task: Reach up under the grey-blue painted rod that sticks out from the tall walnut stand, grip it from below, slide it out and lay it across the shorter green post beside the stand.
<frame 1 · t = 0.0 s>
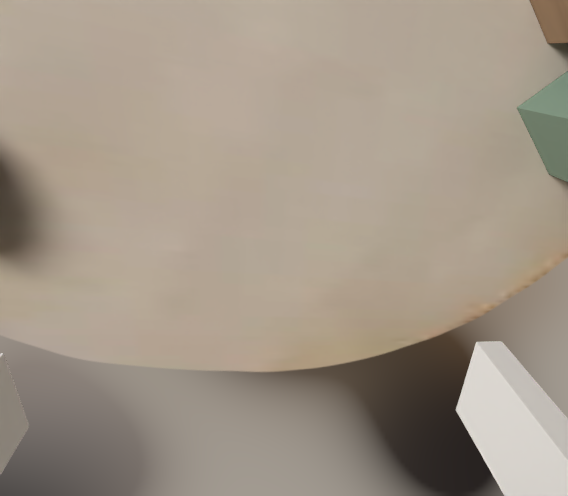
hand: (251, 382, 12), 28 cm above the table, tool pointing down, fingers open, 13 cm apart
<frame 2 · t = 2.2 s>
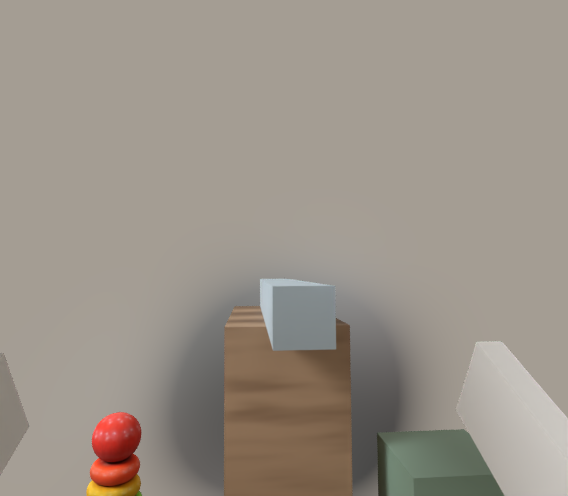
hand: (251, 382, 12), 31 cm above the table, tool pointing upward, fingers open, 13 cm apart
rod: (283, 319, 37), point 30 cm above the table, touching stand
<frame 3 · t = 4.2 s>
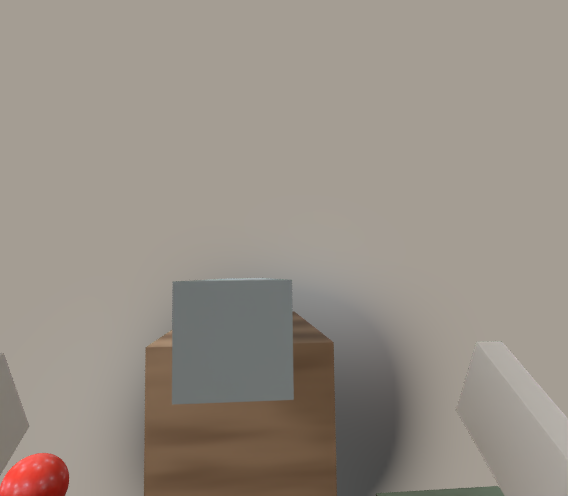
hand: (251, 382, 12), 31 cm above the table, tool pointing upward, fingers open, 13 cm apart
rod: (243, 332, 27), point 30 cm above the table, touching stand
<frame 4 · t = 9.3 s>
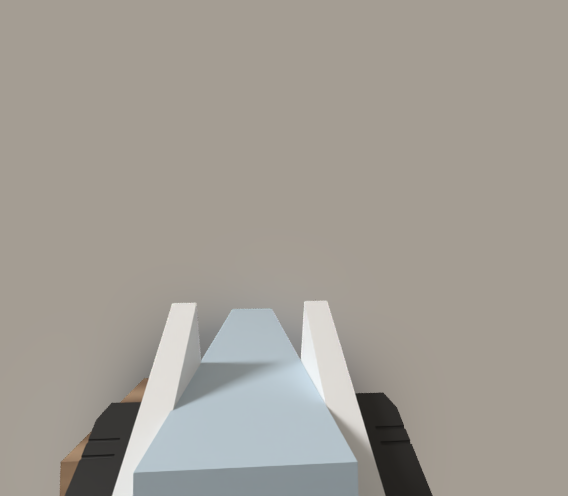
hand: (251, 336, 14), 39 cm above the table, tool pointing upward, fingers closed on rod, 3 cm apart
rod: (251, 400, 21), point 35 cm above the table, touching gripper
when the fingers open (25 cm above the table, at t = 12.7 s): rod stays where it is, resting on post.
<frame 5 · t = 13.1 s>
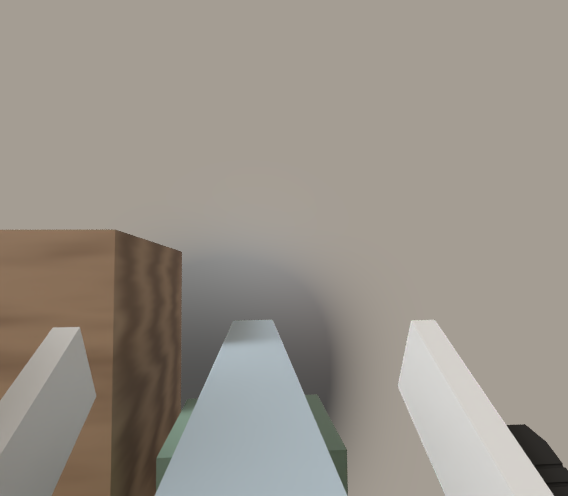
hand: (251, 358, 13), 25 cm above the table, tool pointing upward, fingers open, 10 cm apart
rod: (252, 420, 21), point 20 cm above the table, touching post
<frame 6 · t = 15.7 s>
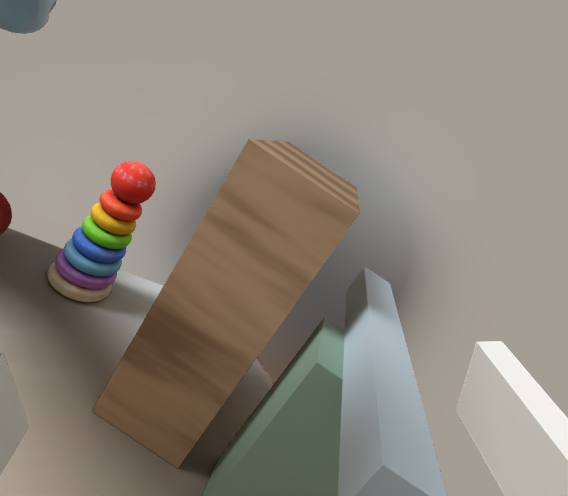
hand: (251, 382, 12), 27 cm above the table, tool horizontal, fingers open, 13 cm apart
stand: (177, 381, 48), on the table
rod: (361, 364, 33), point 20 cm above the table, touching post
stacking toy: (77, 286, 53), on the table
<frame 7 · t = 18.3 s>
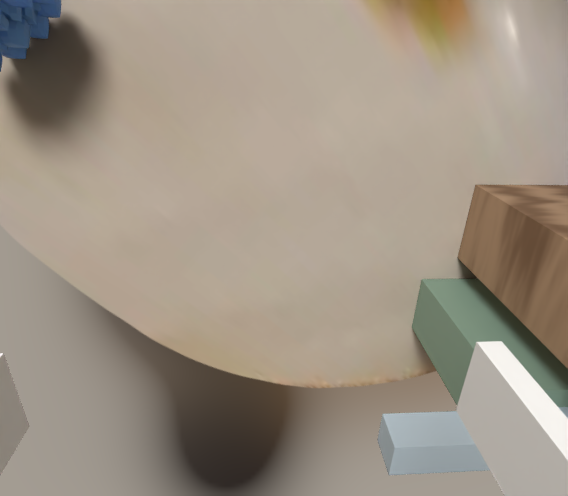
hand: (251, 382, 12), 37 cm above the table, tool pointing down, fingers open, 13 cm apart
blue bumpy round piece: (31, 16, 38), on the table
stand: (540, 222, 52), on the table
rod: (533, 421, 39), point 20 cm above the table, touching post
post: (444, 303, 56), on the table
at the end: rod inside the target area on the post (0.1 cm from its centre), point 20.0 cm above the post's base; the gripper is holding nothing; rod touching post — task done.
